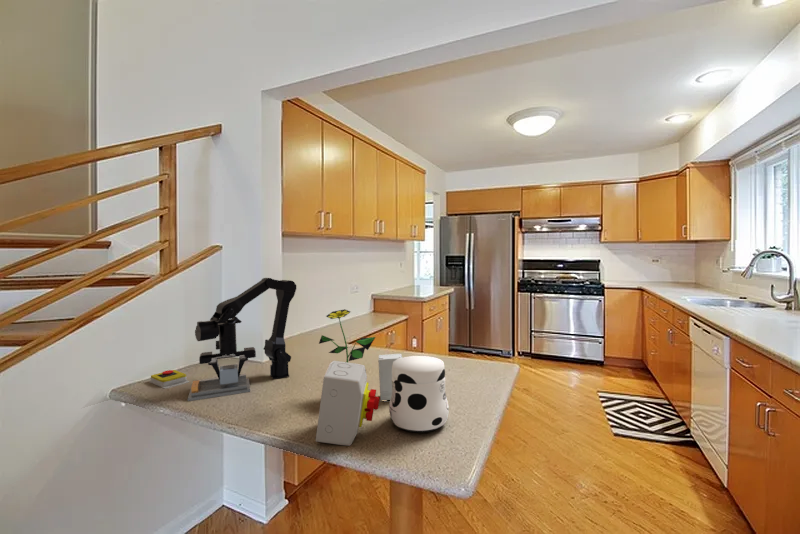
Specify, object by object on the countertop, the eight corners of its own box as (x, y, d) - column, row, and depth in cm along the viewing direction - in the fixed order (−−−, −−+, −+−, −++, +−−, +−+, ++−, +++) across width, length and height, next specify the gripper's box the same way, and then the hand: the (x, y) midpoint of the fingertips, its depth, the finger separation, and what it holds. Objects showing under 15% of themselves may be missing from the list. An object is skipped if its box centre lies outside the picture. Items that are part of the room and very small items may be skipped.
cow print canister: (460, 422, 112) (459, 361, 111) (424, 444, 99) (423, 376, 98) (415, 406, 124) (414, 351, 123) (377, 425, 111) (376, 364, 110)
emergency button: (172, 366, 159) (190, 372, 151) (173, 376, 160) (190, 383, 151) (147, 371, 152) (164, 378, 143) (148, 382, 152) (165, 390, 143)
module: (237, 377, 145) (237, 363, 145) (238, 382, 140) (237, 367, 140) (220, 379, 143) (220, 365, 143) (220, 384, 137) (219, 370, 137)
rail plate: (248, 380, 151) (248, 370, 151) (250, 391, 139) (249, 380, 139) (191, 388, 143) (191, 378, 143) (187, 401, 131) (187, 389, 131)
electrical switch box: (371, 454, 99) (381, 379, 98) (314, 446, 99) (324, 371, 98) (375, 428, 113) (384, 362, 113) (326, 421, 114) (334, 355, 113)
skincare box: (403, 394, 134) (402, 353, 133) (404, 401, 128) (403, 357, 127) (379, 395, 134) (378, 353, 133) (379, 402, 127) (378, 358, 127)
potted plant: (315, 395, 134) (313, 311, 133) (365, 387, 141) (364, 307, 140) (326, 415, 118) (323, 319, 116) (382, 405, 125) (381, 314, 124)
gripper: (253, 329, 152) (254, 368, 152) (200, 334, 144) (202, 375, 145) (255, 335, 142) (256, 376, 142) (198, 340, 134) (200, 384, 135)
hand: (229, 378), depth 141 cm, fingers closed on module, 6 cm apart
